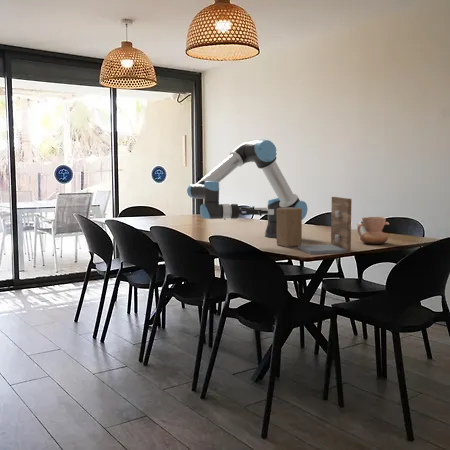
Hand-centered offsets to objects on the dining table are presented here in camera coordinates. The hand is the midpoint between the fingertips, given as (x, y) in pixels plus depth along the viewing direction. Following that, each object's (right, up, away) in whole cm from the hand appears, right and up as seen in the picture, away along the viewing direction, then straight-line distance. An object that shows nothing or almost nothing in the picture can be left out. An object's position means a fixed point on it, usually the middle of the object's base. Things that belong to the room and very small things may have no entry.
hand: (270, 211), depth 275 cm
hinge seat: (+24, -20, -14) cm, 34 cm away
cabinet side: (+33, -20, -12) cm, 41 cm away
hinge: (+61, -14, +43) cm, 76 cm away
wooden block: (+10, -18, +4) cm, 21 cm away
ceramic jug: (+56, -18, +9) cm, 60 cm away
